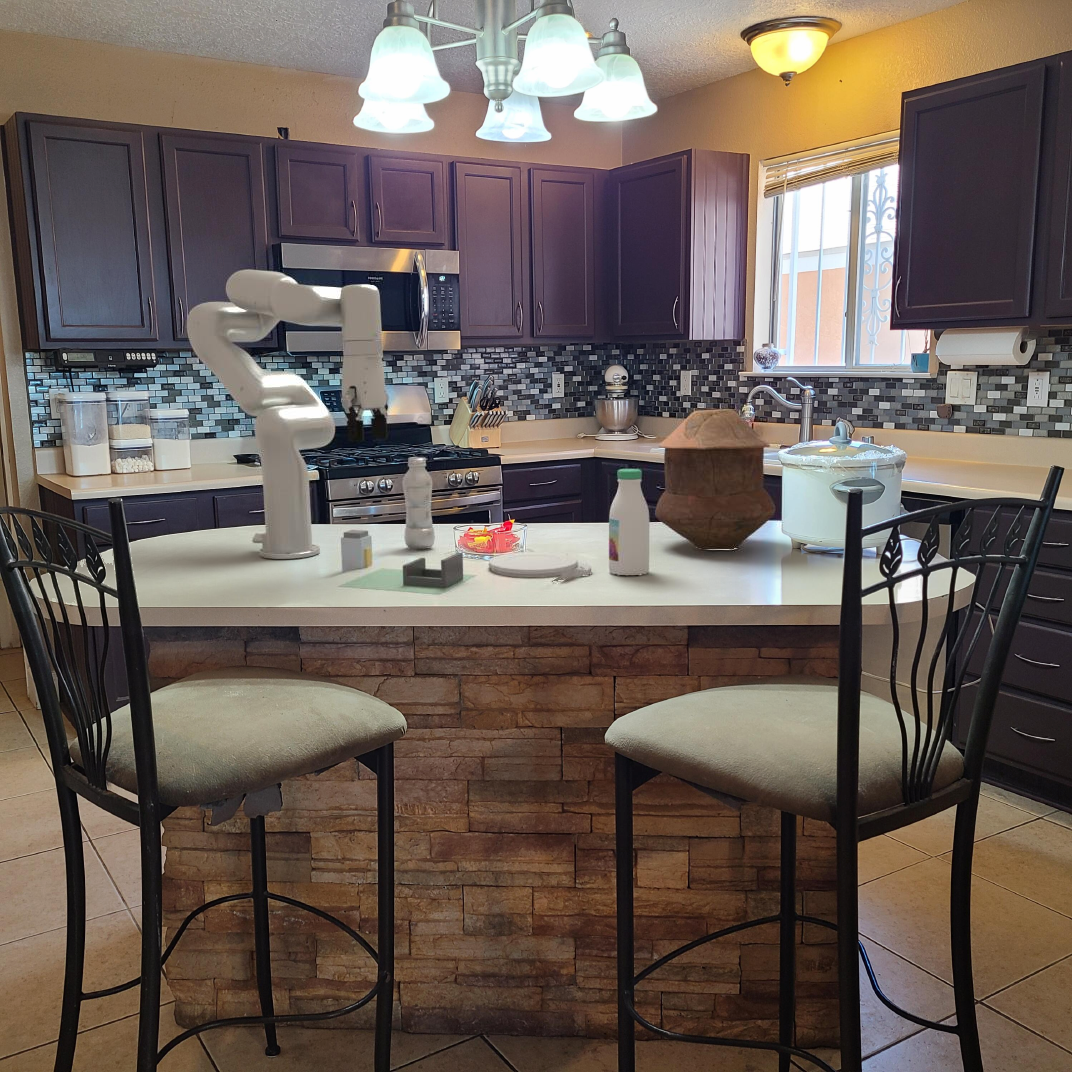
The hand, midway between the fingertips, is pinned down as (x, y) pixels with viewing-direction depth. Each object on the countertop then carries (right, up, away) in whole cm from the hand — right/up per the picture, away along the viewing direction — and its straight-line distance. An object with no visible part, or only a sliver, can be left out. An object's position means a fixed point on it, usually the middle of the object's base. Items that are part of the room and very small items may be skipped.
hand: (368, 439), depth 194 cm
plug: (-2, -26, +1) cm, 26 cm away
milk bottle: (+51, -26, -2) cm, 57 cm away
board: (+10, -28, -13) cm, 32 cm away
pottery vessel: (+71, -22, +21) cm, 78 cm away
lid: (+34, -27, -2) cm, 43 cm away
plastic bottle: (+7, -22, +24) cm, 33 cm away
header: (+14, -27, -15) cm, 34 cm away
